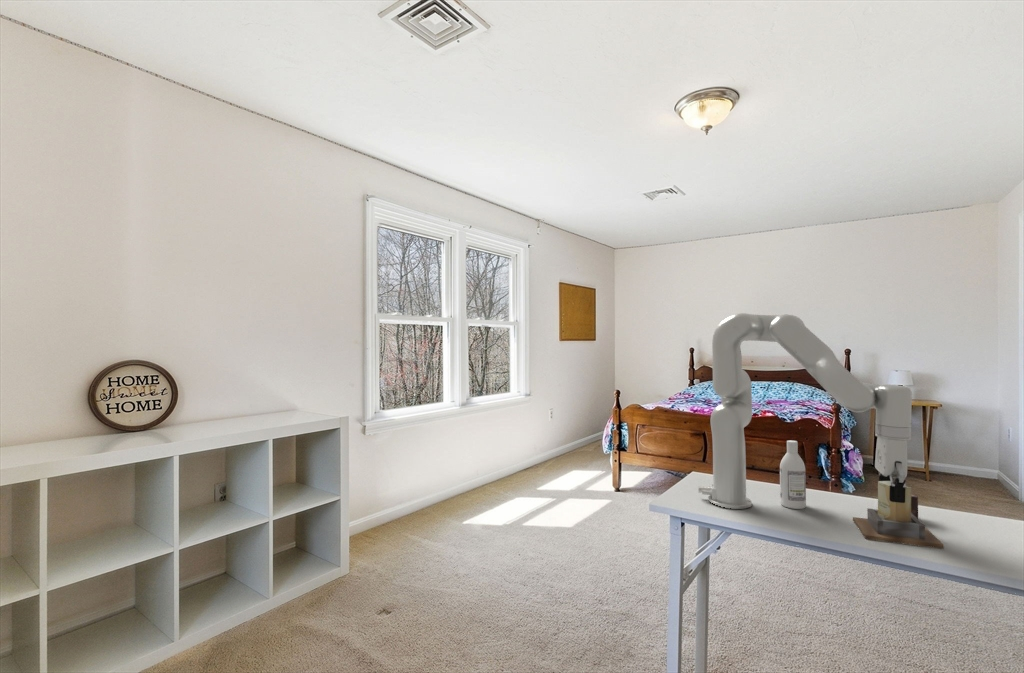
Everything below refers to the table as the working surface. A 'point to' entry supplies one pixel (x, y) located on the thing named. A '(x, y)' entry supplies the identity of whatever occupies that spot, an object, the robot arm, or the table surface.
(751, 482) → the table surface
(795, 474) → the bath foam
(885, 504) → the skincare box
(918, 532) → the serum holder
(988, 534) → the table surface
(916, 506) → the box
